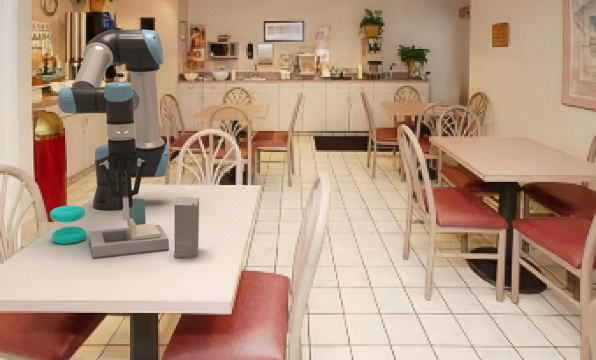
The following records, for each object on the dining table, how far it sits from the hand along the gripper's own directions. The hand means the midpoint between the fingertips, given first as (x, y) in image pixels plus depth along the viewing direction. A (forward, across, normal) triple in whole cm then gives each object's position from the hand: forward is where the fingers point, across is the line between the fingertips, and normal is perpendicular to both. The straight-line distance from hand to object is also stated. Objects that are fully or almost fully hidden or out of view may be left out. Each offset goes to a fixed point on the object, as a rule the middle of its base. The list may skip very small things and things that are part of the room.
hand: (126, 218), depth 179 cm
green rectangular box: (+10, +4, +14) cm, 18 cm away
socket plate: (+9, 0, +2) cm, 10 cm away
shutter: (+6, +5, +2) cm, 8 cm away
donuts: (+10, -16, +16) cm, 24 cm away
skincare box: (+9, +15, -11) cm, 21 cm away
